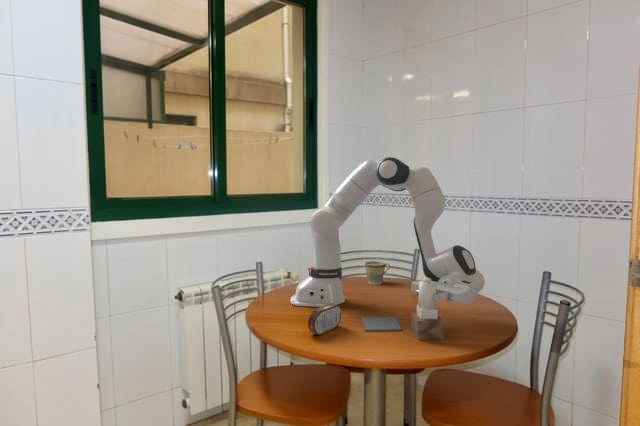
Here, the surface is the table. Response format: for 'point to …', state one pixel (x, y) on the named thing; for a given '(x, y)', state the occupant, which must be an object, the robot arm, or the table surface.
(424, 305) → the white tapered tower
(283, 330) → the table surface
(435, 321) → the post plinth
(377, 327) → the mat
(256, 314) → the table surface
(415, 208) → the robot arm
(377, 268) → the ceramic cup
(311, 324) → the tin
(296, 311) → the table surface
